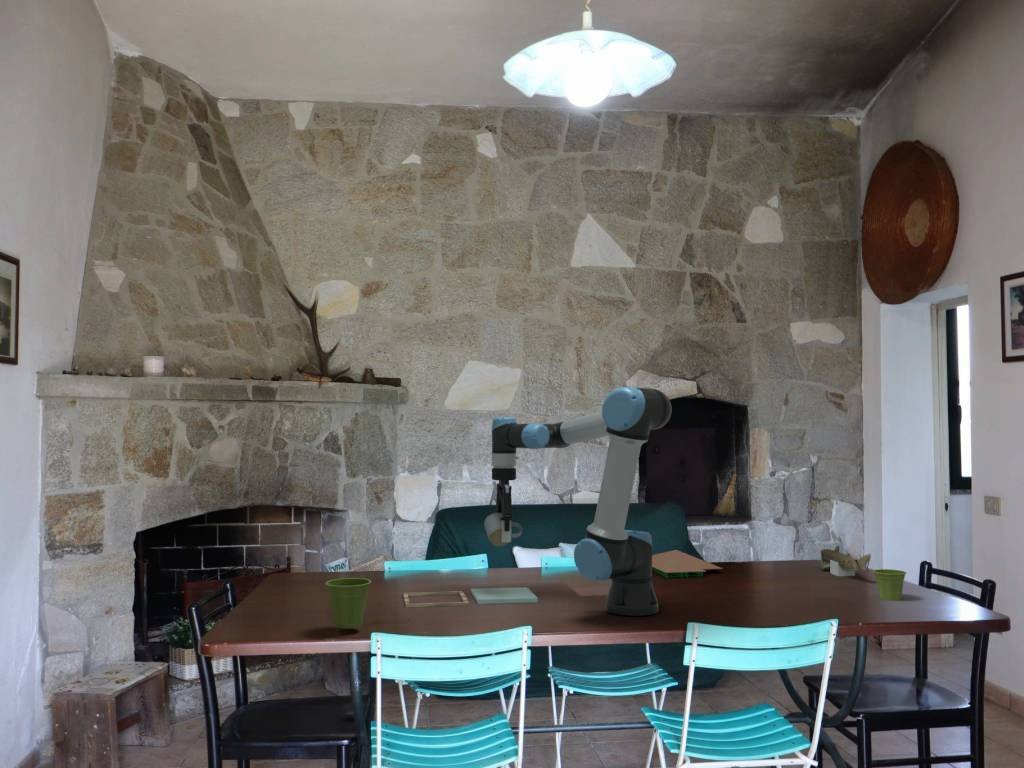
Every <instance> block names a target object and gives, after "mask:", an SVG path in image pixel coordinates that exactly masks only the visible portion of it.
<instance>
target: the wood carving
mask: <svg viewBox="0 0 1024 768" xmlns="http://www.w3.org/2000/svg"><path fill="white" fill-rule="evenodd" d="M820 555H821V556H820V558H821V559H820V560H821V561H820V562H821V564H820V565H821V566H820V569H822V570H823V569H825V568H829V570H830V573H829V574H832V575H834V576H837V577H855V576H856V572H858V573H862V574H864V575H865V574H866V575H867V574H869V564H870V562H871V561H870V560H871V557H872V556H871V553H868V554H864V555H863V556H861V557H860V558H859V559H856V558H854V557H852V556H851V553H847V554H845V553H841V552H840V545H836V546H835V549H828V548H827V549H826V548H824V549H821V550H820Z"/></svg>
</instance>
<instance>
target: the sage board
mask: <svg viewBox="0 0 1024 768" xmlns="http://www.w3.org/2000/svg"><path fill="white" fill-rule="evenodd" d="M470 594H471V596H472V597H473V598H474V600H475V602H476V604H477V605H481V604H484V605H486V604H487V605H488V604H519V603H520V604H521V603H523V604H524V603H538V602H539V599H538V597H537V595H535V594H534V593H533V591H532V590H530V588H529V587H527V586H526V587H524V586H523V587H494V588H492V587H491V588H490V587H488V588H487V587H486V588H470Z"/></svg>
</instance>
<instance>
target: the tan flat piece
mask: <svg viewBox="0 0 1024 768" xmlns="http://www.w3.org/2000/svg"><path fill="white" fill-rule="evenodd" d="M713 570H723V567H720V566H717V565H715V564H713V563H710V562H708V561H706V560H704V559H703V560H702V559H700V558H698V557H695V556H693V555H690V554H688V553H686V552H682V551H681V550H677V549H674V550H669V551H666V552H665V551H663V552H661V553H655V554H652V573H653V572H654V573H657V574H658V575H660V576H663V577H664V574H666V579H669V578H674V579H675V577H676V576H678V573H680V577H681V579H683V578H684V577H685V578H688V577H689V574H688V573H691V574H692V575H691V577H692V578H693V576H694V577H700V576H701V577H702V574H700V573H704V572H707V571H708V572H709V571H713ZM673 575H674V576H673Z"/></svg>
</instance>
